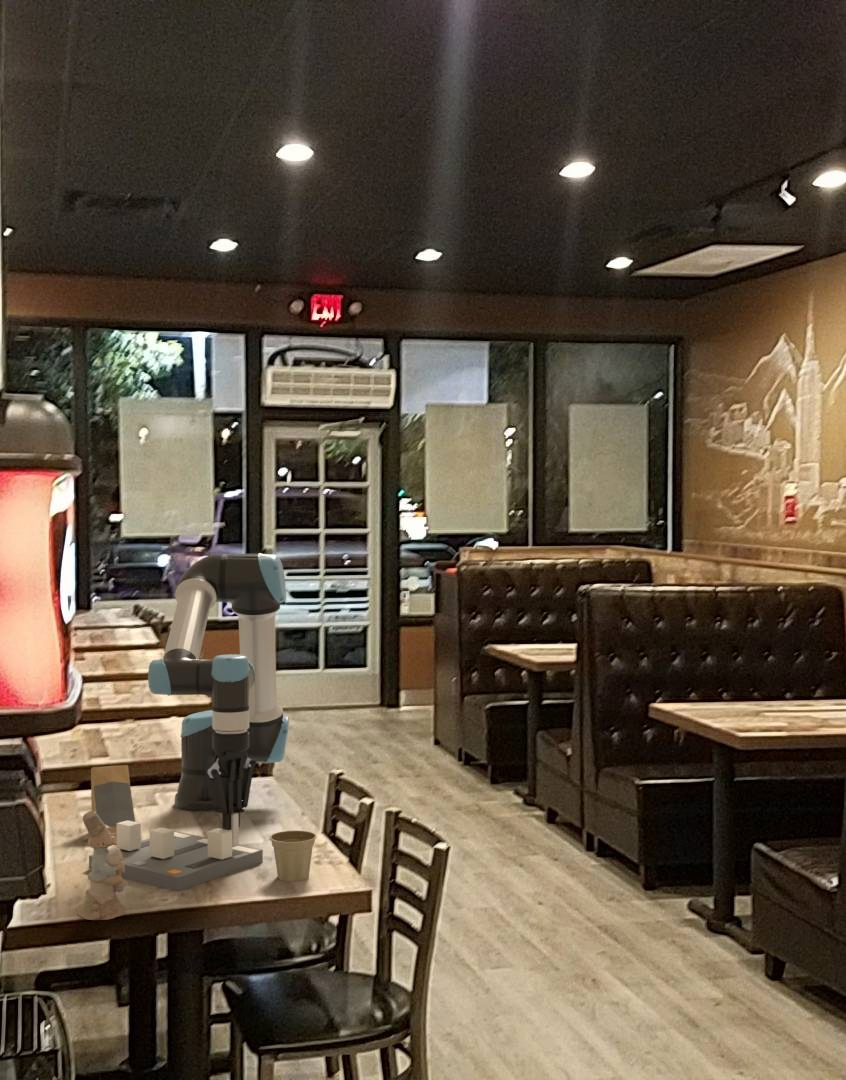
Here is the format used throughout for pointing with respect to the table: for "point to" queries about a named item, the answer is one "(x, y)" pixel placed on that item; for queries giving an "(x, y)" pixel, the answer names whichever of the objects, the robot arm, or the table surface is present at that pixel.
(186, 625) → the robot arm
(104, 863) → the figurine
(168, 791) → the table surface
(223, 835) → the white upright block
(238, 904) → the table surface
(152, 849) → the middle handle
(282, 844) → the flower pot
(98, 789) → the sandwich container
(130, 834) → the side handle
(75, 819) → the table surface
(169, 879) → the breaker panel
